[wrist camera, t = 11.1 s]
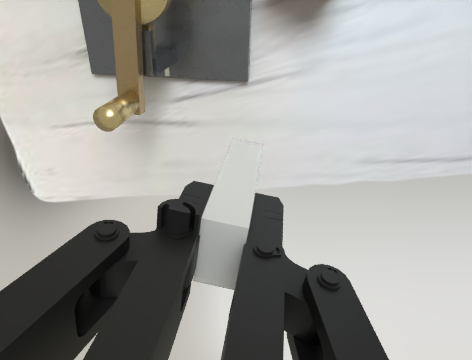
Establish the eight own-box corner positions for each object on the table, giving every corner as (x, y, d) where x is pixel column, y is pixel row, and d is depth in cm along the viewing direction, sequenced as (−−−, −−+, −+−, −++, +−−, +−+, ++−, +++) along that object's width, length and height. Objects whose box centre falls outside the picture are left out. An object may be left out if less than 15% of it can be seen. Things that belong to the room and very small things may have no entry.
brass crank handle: (103, -99, 33) (28, -135, 24) (178, -92, 33) (133, -126, 23) (118, 96, 43) (69, 126, 33) (177, 104, 42) (144, 136, 33)
